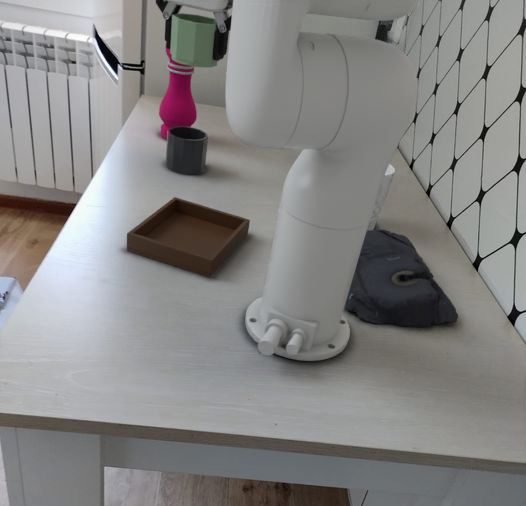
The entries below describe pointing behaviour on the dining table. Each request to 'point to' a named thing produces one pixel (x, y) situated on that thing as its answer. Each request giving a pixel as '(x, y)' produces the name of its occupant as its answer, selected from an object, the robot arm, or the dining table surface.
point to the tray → (188, 236)
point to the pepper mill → (177, 97)
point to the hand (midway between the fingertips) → (195, 52)
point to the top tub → (193, 40)
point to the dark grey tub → (186, 150)
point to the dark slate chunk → (396, 284)
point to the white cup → (381, 196)
